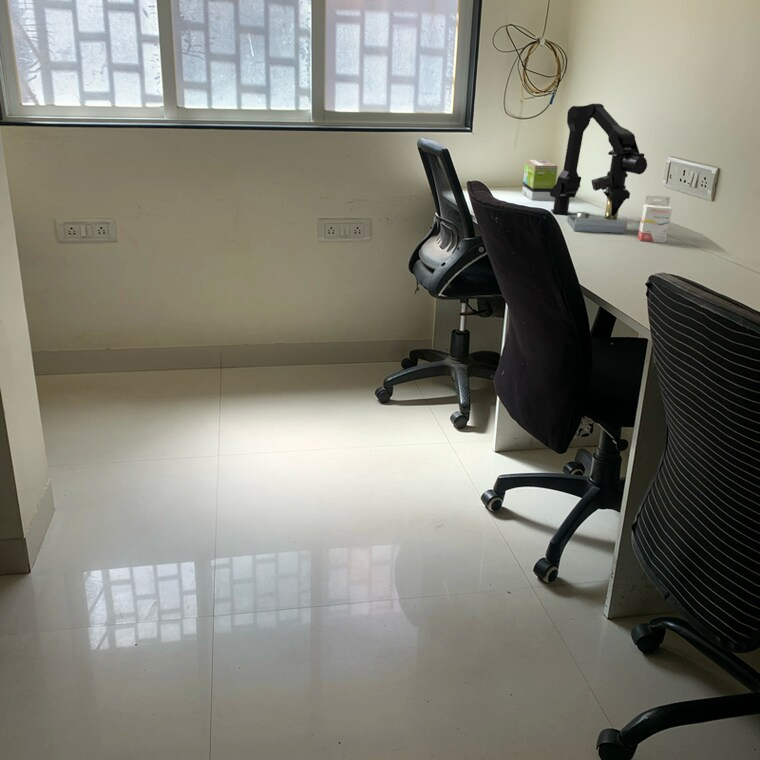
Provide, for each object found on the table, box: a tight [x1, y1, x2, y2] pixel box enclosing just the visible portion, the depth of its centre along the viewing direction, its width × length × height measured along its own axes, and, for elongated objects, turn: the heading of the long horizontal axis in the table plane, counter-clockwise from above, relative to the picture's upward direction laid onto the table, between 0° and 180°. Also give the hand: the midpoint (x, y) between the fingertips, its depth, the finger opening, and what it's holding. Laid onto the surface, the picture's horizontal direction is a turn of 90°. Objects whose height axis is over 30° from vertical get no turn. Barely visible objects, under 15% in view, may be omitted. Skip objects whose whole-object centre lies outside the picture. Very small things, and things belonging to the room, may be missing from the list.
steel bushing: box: [576, 211, 591, 218], centre depth 280 cm, size 4×4×5 cm
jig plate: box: [566, 214, 628, 234], centre depth 280 cm, size 16×18×4 cm
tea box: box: [521, 159, 558, 202], centre depth 330 cm, size 15×10×15 cm, turn 6°
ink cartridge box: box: [637, 194, 673, 243], centre depth 263 cm, size 9×5×15 cm, turn 84°
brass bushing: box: [604, 198, 620, 220], centre depth 278 cm, size 4×4×7 cm
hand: (611, 214), depth 279 cm, fingers closed on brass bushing, 4 cm apart
